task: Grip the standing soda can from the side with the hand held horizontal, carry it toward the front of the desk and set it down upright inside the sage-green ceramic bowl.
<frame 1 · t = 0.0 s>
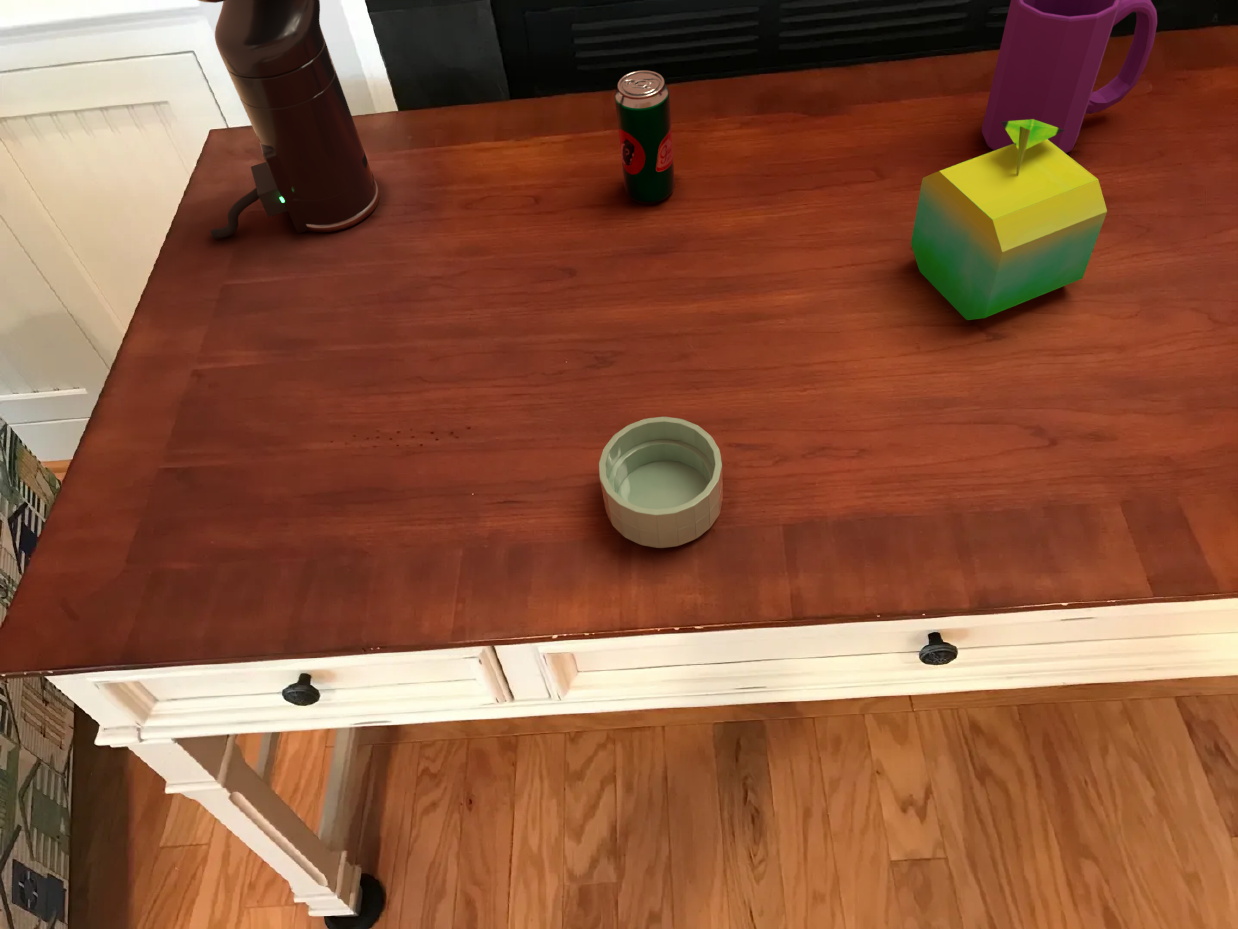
bowl: (663, 502, 76), on the table
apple: (989, 278, 88), on the table
mug: (1055, 131, 99), on the table
soda can: (650, 192, 100), on the table
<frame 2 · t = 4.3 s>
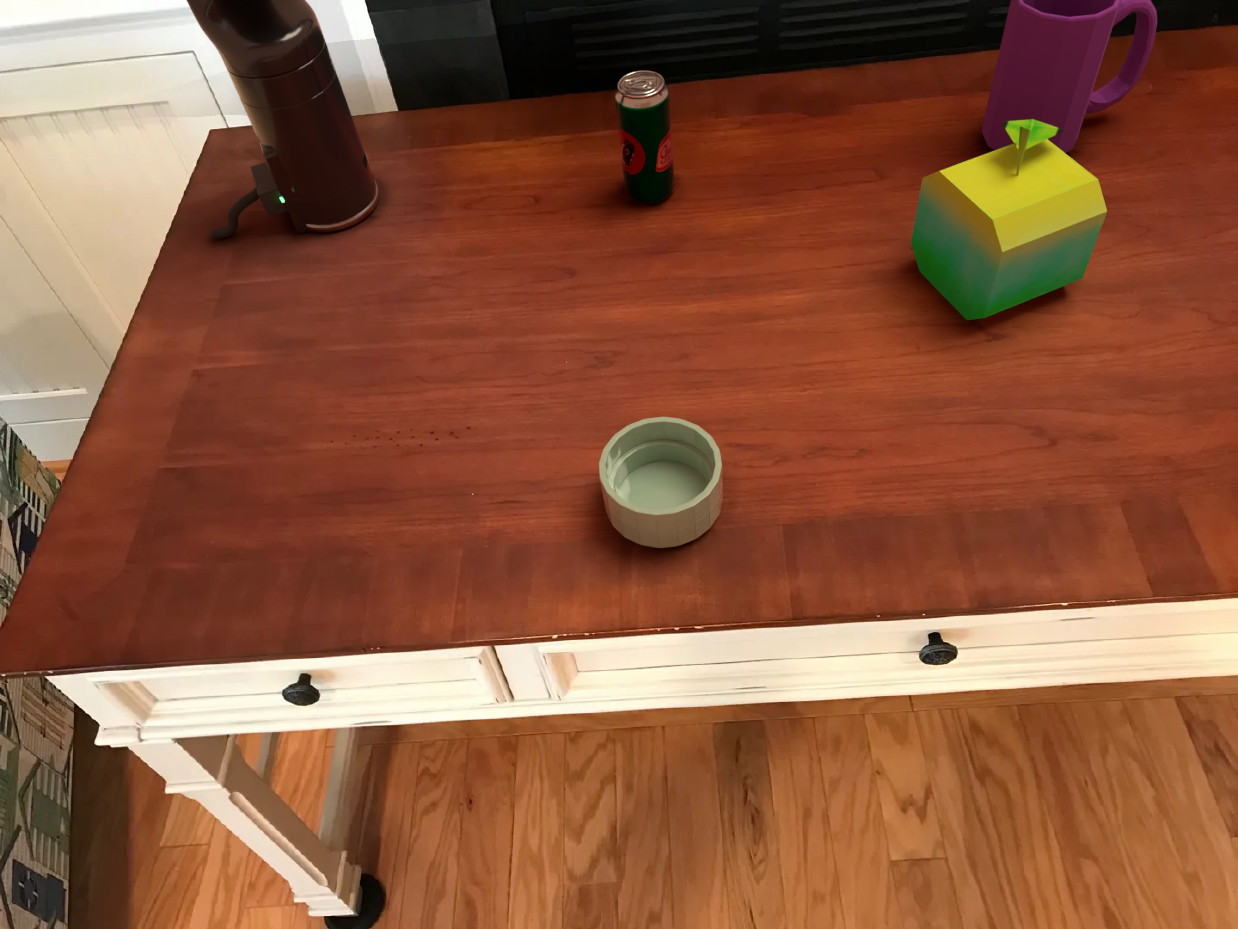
nothing on the table moved.
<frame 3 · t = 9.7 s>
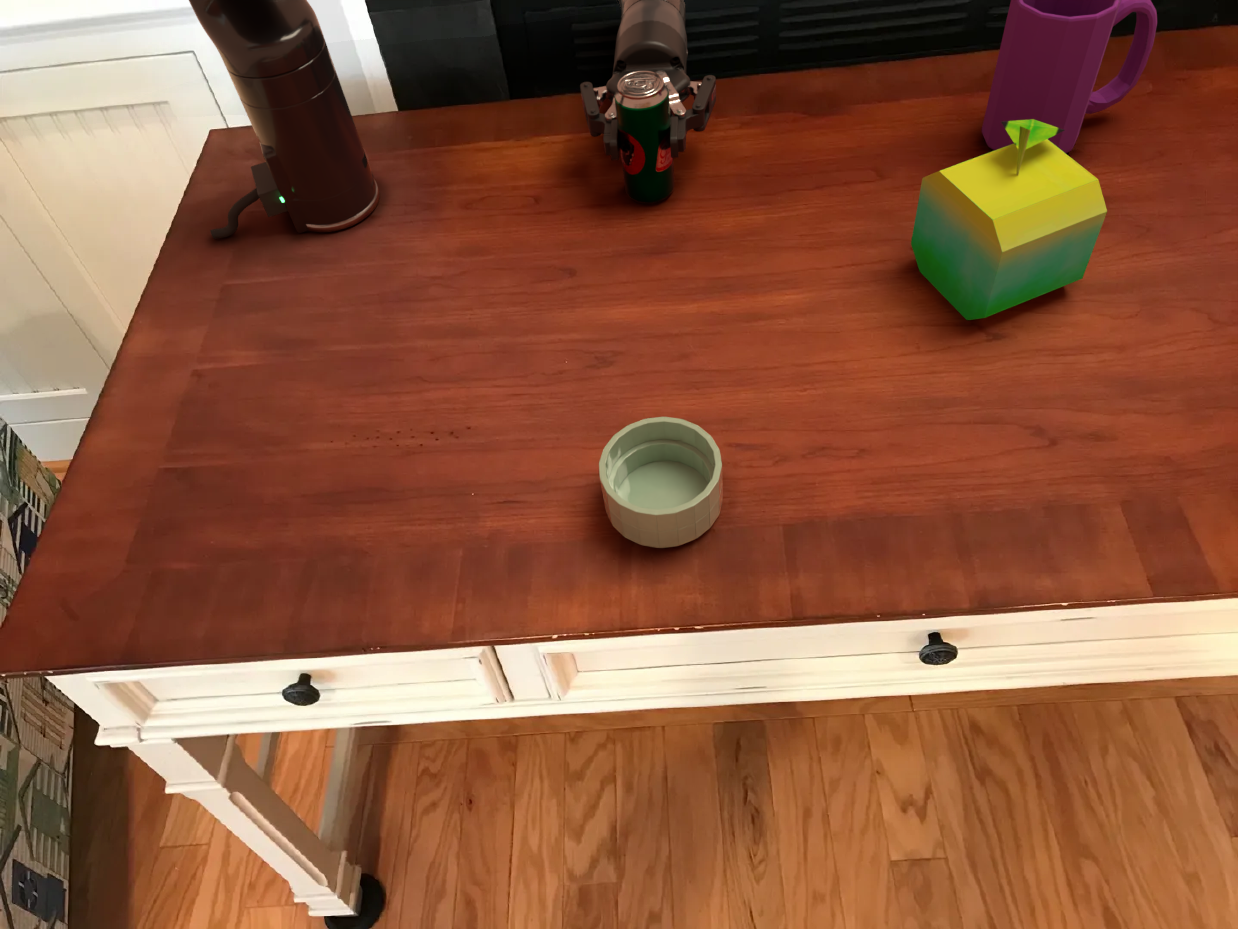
hand: (644, 150, 93), 7 cm above the table, tool horizontal, fingers closed on soda can, 5 cm apart
soda can: (650, 192, 100), on the table, touching gripper
everything else where it was.
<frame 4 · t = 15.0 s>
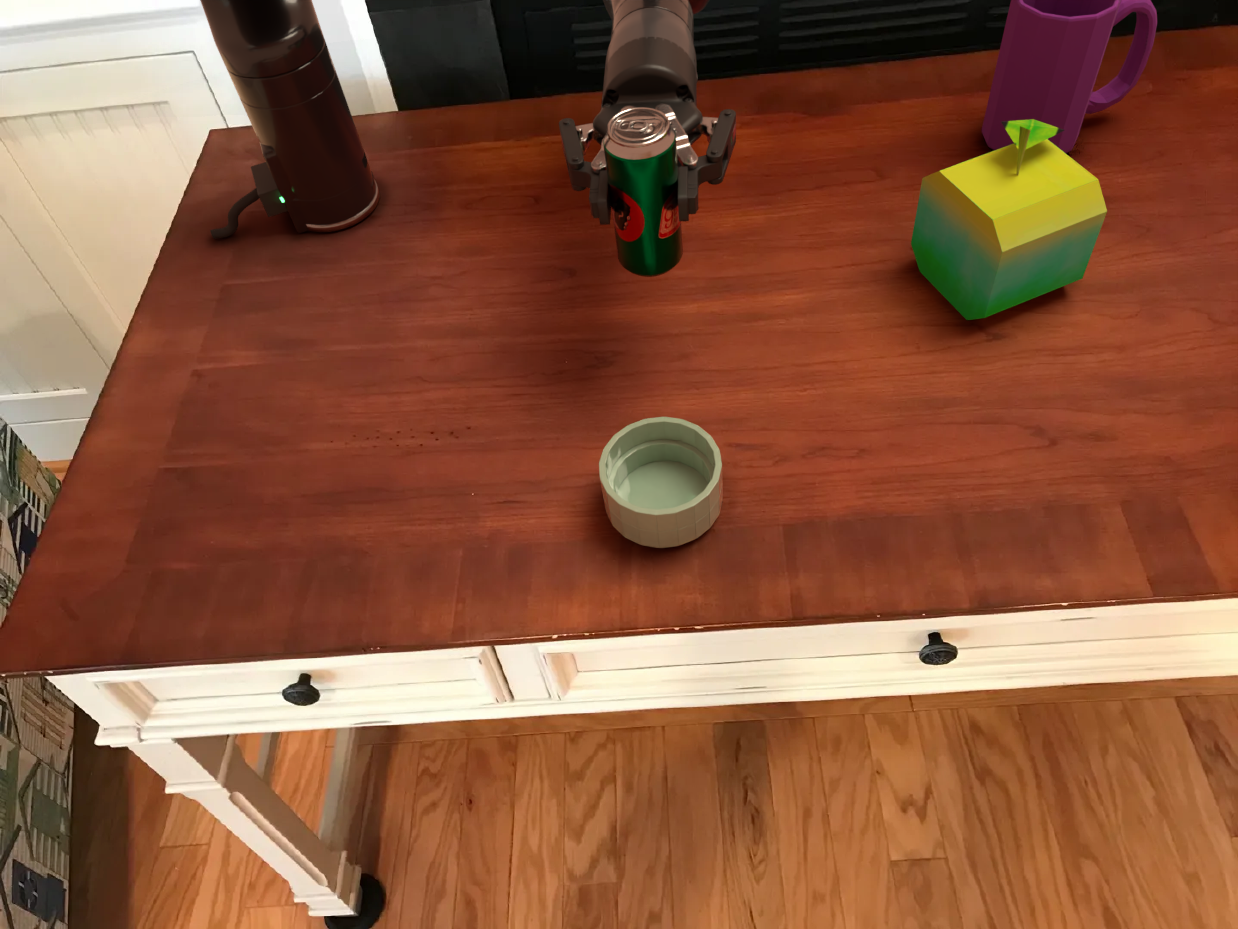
hand: (643, 212, 70), 18 cm above the table, tool horizontal, fingers closed on soda can, 5 cm apart
soda can: (651, 260, 77), point 11 cm above the table, touching gripper
everything else where it was.
when the fingers open (7 cm above the table, at t = 20.3 s): soda can stays where it is, resting on bowl.
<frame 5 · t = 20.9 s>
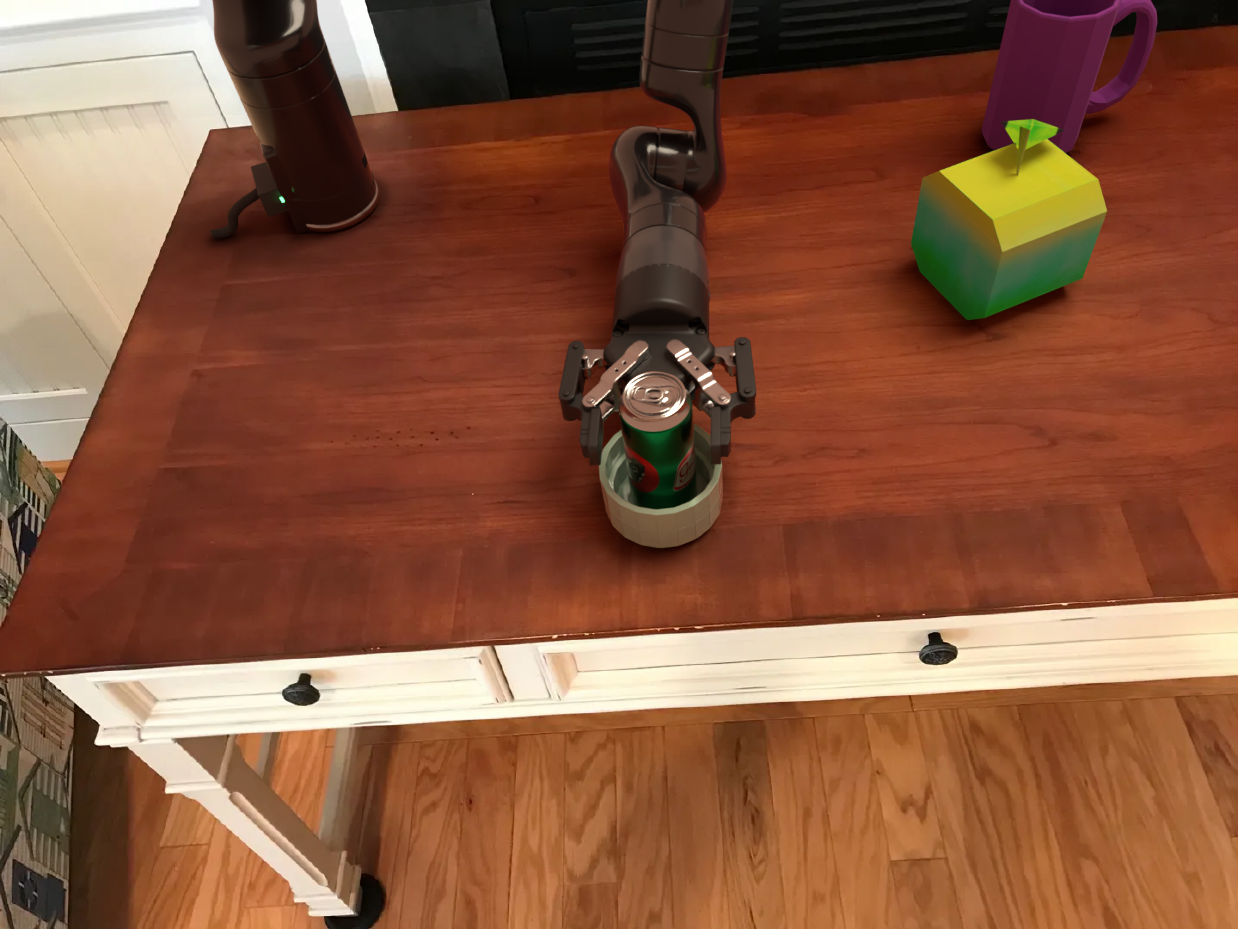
hand: (654, 458, 68), 8 cm above the table, tool horizontal, fingers open, 8 cm apart
soda can: (664, 498, 76), resting on bowl
everything else where it was.
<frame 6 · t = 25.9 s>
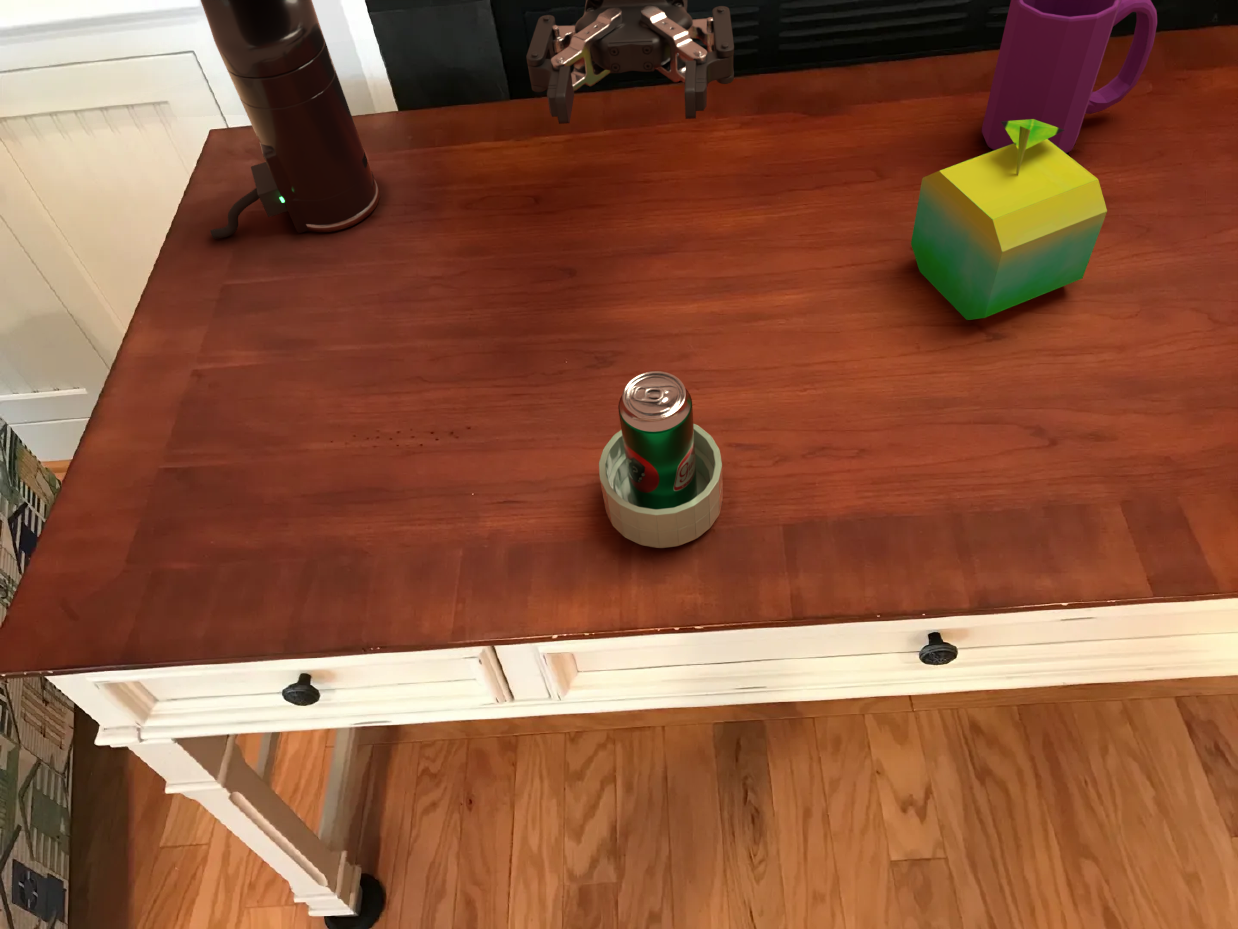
hand: (626, 109, 65), 25 cm above the table, tool horizontal, fingers open, 8 cm apart
nothing on the table moved.
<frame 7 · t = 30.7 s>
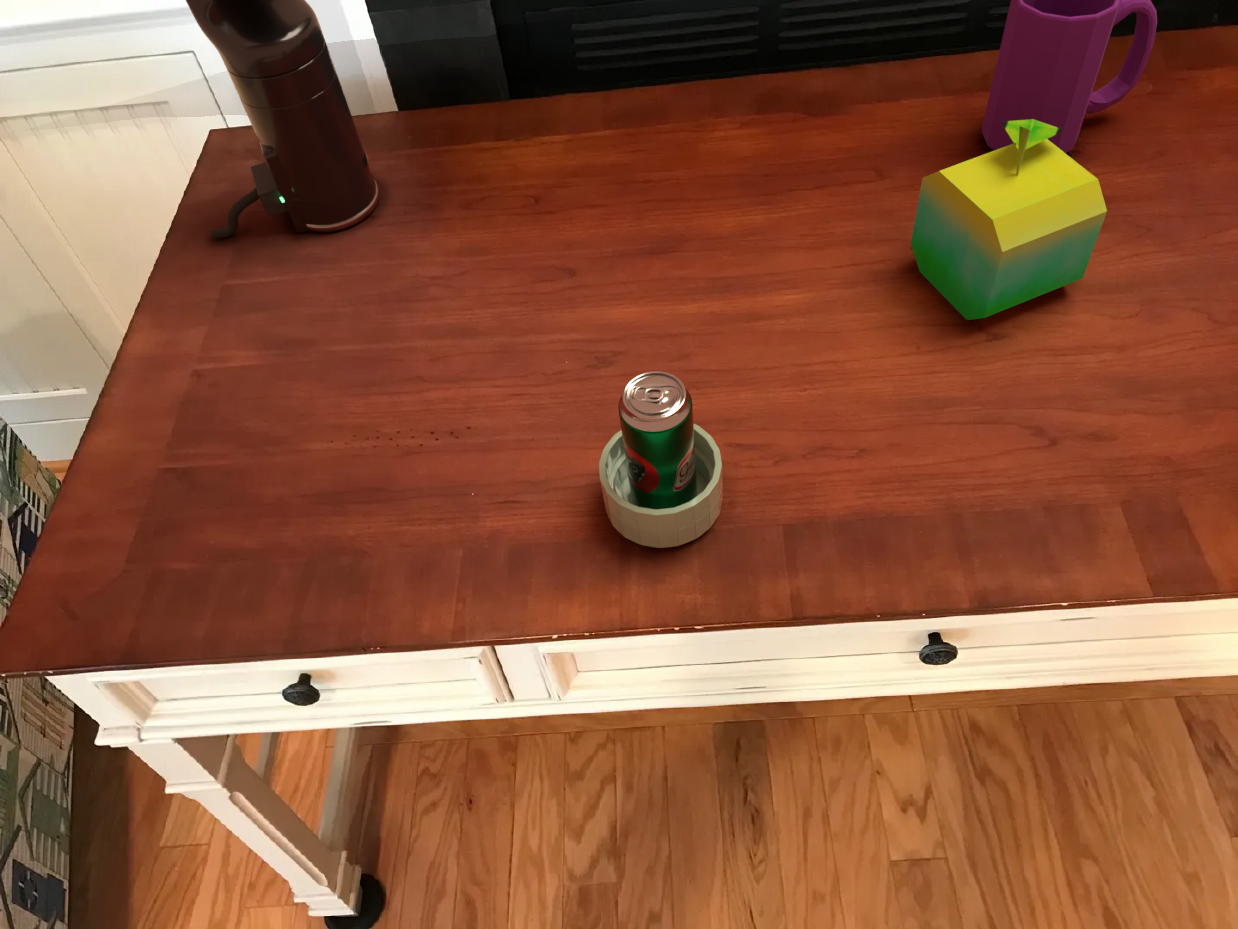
nothing on the table moved.
at the end: soda can 0.1 cm off-centre in the bowl, point 0.4 cm above the bowl's base; soda can tilted 0°; the gripper is holding nothing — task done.
